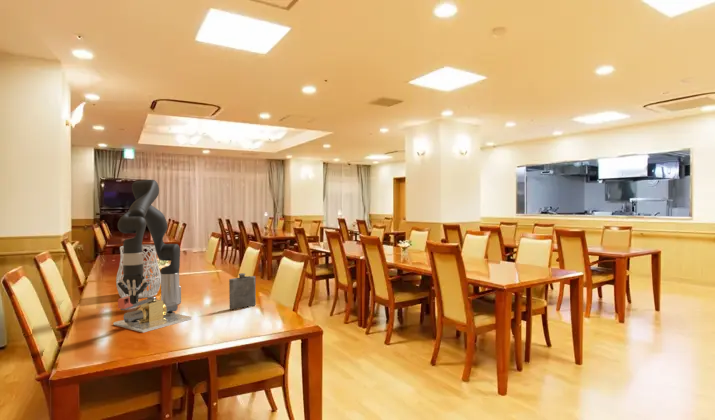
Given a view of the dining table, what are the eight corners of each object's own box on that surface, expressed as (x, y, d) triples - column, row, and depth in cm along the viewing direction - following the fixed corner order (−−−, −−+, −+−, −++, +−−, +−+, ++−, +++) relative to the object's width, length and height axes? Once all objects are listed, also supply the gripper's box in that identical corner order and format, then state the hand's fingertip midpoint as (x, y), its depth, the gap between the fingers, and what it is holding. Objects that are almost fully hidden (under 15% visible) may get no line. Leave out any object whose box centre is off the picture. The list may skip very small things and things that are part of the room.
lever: (150, 299, 197) (150, 288, 197) (157, 299, 197) (157, 289, 197) (117, 310, 176) (117, 298, 176) (125, 311, 176) (125, 299, 176)
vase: (127, 291, 265) (126, 244, 264) (166, 290, 267) (166, 243, 267) (108, 300, 241) (107, 248, 240) (152, 299, 243) (151, 247, 243)
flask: (228, 308, 219) (227, 274, 219) (253, 304, 228) (253, 271, 228) (230, 310, 216) (230, 275, 216) (256, 305, 225) (256, 272, 225)
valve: (162, 313, 211) (161, 294, 211) (191, 319, 199) (191, 299, 199) (113, 324, 190) (113, 303, 190) (143, 332, 178) (142, 310, 178)
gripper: (153, 261, 182) (153, 301, 182) (122, 262, 182) (123, 302, 182) (144, 264, 174) (145, 305, 174) (112, 264, 174) (113, 306, 174)
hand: (134, 303), depth 178 cm, fingers closed
